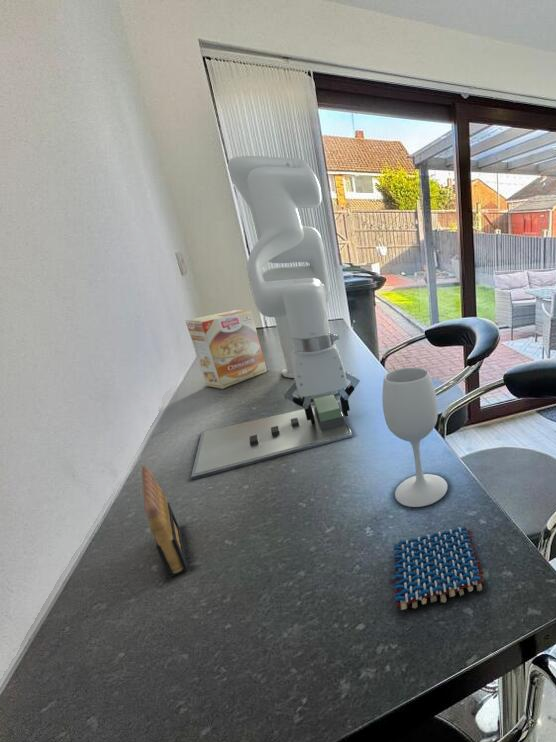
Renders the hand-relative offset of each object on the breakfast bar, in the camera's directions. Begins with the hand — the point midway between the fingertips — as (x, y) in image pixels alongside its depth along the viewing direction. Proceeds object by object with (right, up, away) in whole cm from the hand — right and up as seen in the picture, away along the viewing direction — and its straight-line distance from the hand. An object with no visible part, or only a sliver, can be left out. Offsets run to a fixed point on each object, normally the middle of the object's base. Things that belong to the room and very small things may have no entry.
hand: (329, 417), depth 91 cm
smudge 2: (-9, -3, -5) cm, 11 cm away
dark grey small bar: (-7, -1, -2) cm, 7 cm away
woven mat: (+32, -16, -39) cm, 53 cm away
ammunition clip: (-6, -16, -35) cm, 39 cm away
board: (-9, -4, -5) cm, 11 cm away
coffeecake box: (-41, +9, +29) cm, 51 cm away
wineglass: (+26, -10, -24) cm, 37 cm away
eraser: (0, 0, 0) cm, 0 cm away
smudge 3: (-12, -4, -9) cm, 15 cm away
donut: (-9, +5, +16) cm, 19 cm away
